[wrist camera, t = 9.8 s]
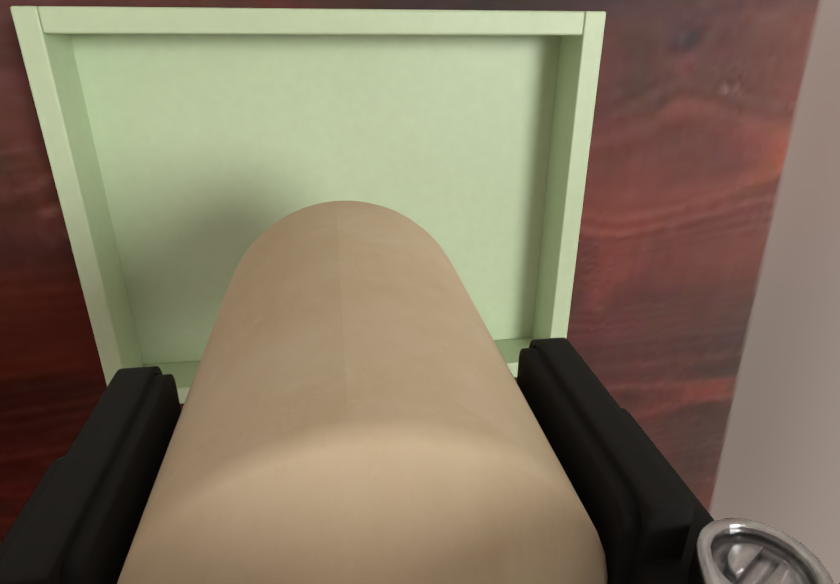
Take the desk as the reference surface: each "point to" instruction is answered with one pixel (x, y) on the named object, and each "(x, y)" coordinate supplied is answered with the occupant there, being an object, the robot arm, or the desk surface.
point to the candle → (357, 429)
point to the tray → (309, 151)
